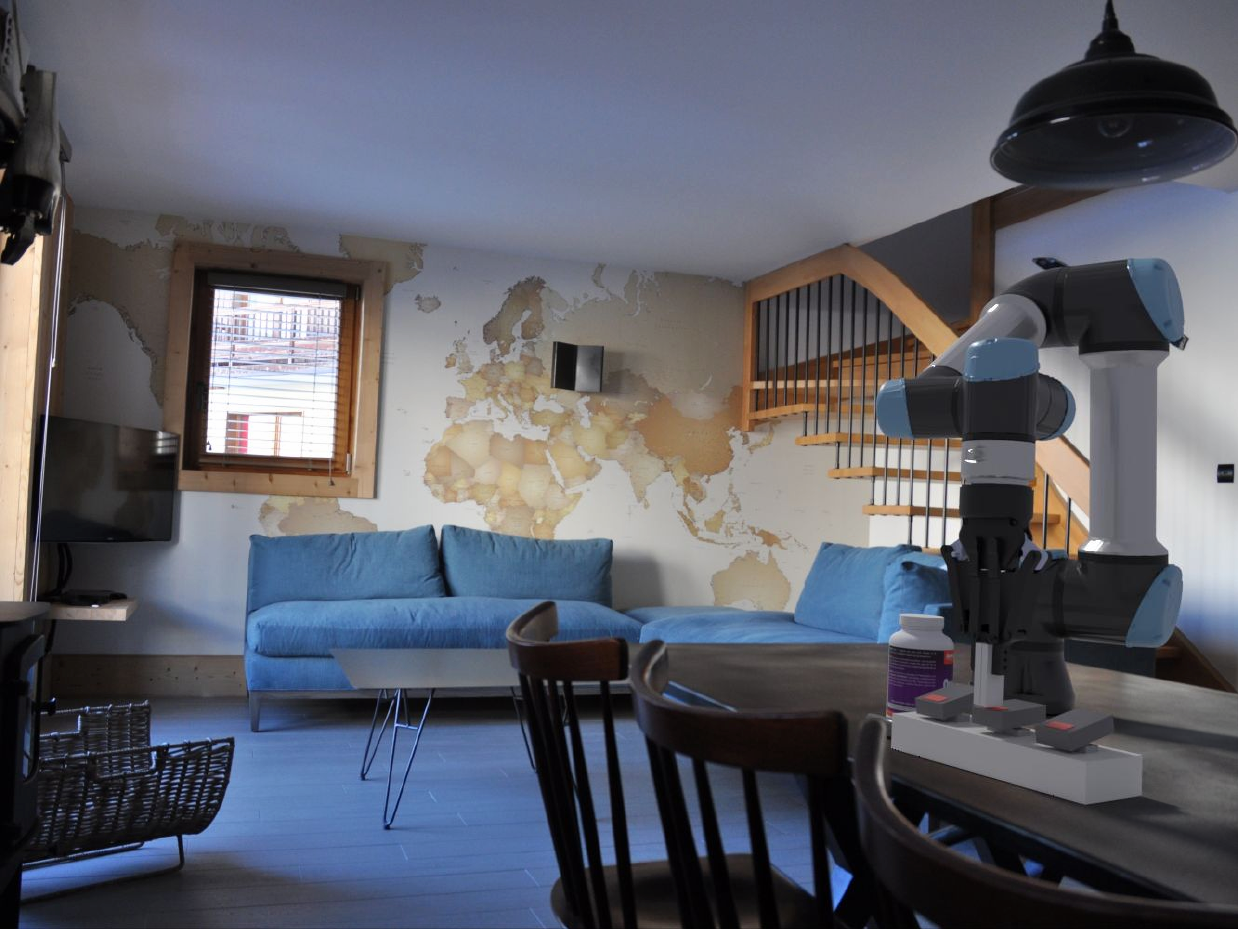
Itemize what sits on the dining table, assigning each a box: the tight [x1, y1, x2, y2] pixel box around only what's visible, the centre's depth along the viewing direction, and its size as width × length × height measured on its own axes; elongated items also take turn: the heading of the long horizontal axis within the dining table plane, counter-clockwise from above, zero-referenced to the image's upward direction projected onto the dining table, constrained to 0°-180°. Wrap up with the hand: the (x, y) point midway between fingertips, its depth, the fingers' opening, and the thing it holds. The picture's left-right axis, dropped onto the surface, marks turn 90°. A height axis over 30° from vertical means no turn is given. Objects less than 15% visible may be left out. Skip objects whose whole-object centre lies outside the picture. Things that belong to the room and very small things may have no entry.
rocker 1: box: [915, 682, 975, 720], centre depth 120 cm, size 7×4×2 cm, turn 121°
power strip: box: [865, 712, 1144, 806], centre depth 117 cm, size 9×33×5 cm, turn 31°
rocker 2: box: [971, 699, 1047, 730], centre depth 113 cm, size 7×4×2 cm, turn 121°
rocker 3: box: [1034, 707, 1115, 751], centre depth 107 cm, size 7×4×2 cm, turn 121°
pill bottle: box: [885, 613, 955, 719], centre depth 135 cm, size 8×8×14 cm
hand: (988, 704), depth 112 cm, fingers closed
